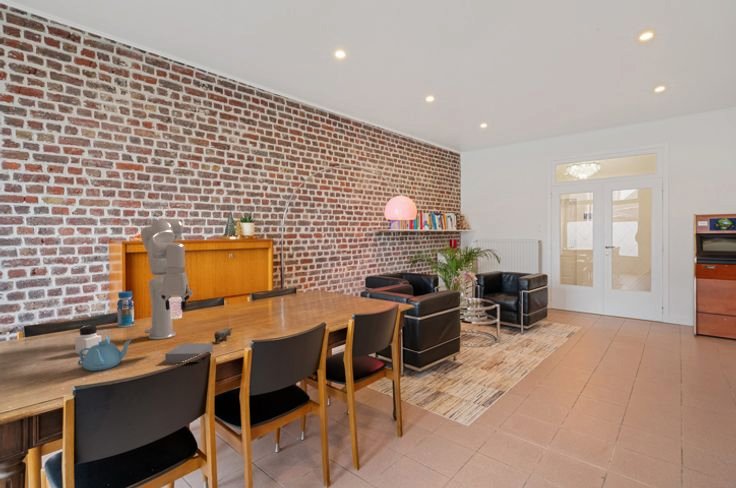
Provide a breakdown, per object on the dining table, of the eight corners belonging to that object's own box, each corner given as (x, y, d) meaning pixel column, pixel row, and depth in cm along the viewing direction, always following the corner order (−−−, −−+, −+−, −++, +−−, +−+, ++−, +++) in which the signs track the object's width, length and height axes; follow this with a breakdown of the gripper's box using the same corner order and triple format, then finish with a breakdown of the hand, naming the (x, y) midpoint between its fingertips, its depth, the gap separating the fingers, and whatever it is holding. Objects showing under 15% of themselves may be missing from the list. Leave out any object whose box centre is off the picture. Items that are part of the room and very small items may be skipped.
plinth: (165, 363, 152) (165, 353, 152) (181, 352, 166) (181, 343, 166) (199, 362, 152) (199, 353, 152) (212, 352, 166) (212, 343, 166)
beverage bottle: (113, 327, 212) (112, 293, 211) (125, 323, 220) (124, 290, 220) (126, 327, 211) (125, 293, 210) (137, 324, 219) (137, 291, 218)
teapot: (72, 370, 145) (71, 344, 145) (110, 358, 159) (110, 334, 159) (95, 375, 140) (94, 348, 139) (133, 362, 154) (132, 338, 153)
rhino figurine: (235, 336, 191) (235, 325, 191) (219, 344, 178) (219, 332, 178) (228, 336, 192) (228, 324, 192) (211, 343, 179) (211, 331, 179)
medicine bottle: (102, 350, 169) (101, 325, 169) (86, 355, 162) (85, 328, 162) (91, 349, 171) (90, 323, 171) (75, 353, 165) (74, 327, 164)
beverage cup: (165, 318, 166) (165, 288, 166) (177, 315, 172) (176, 286, 171) (175, 319, 164) (174, 289, 163) (186, 316, 170) (186, 287, 169)
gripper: (151, 271, 163) (152, 311, 164) (190, 271, 163) (191, 311, 164) (160, 269, 171) (161, 307, 171) (198, 269, 171) (198, 307, 172)
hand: (176, 309), depth 168 cm, fingers closed on beverage cup, 6 cm apart
